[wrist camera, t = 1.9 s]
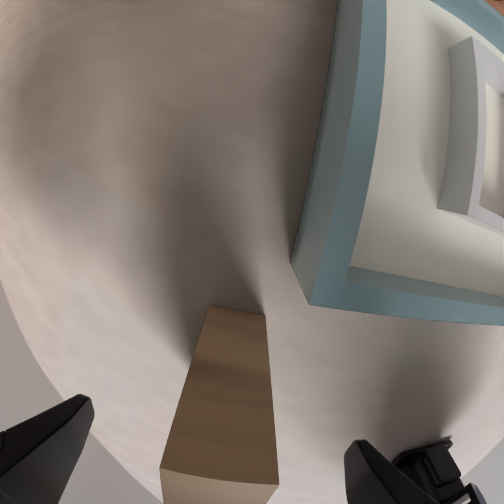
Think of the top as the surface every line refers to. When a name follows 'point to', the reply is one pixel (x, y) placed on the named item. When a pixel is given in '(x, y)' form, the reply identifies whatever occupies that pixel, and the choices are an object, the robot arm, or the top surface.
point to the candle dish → (409, 165)
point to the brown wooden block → (224, 418)
